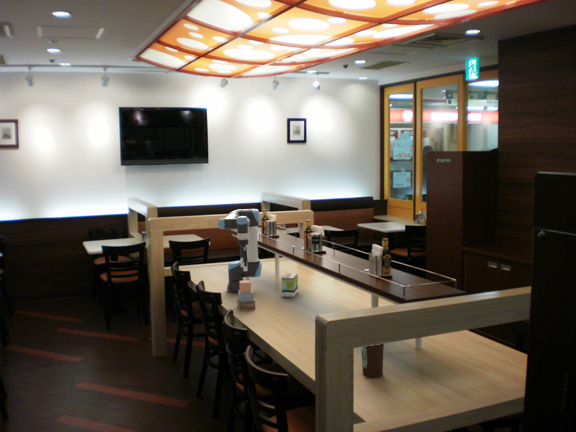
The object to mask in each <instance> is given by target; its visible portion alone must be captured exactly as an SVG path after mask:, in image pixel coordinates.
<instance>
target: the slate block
mask: <svg viewBox="0 0 576 432" xmlns="http://www.w3.org/2000/svg"><path fill="white" fill-rule="evenodd" d="M237 294H238V298H239V300H240V302H247V301H254V300H255V298H254V291H253V290H252V289H251V292H249V293H241V292H240V290H239V291H238V293H237Z"/></svg>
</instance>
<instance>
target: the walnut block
mask: <svg viewBox="0 0 576 432" xmlns="http://www.w3.org/2000/svg"><path fill="white" fill-rule="evenodd" d="M236 304H237V305H236V306H237V308H238V310H239V311H240V312H241V311H242V310H243V311H253V310H256V300H255V299H254V301H247V302H240V300H239V297H238V298H236Z"/></svg>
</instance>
